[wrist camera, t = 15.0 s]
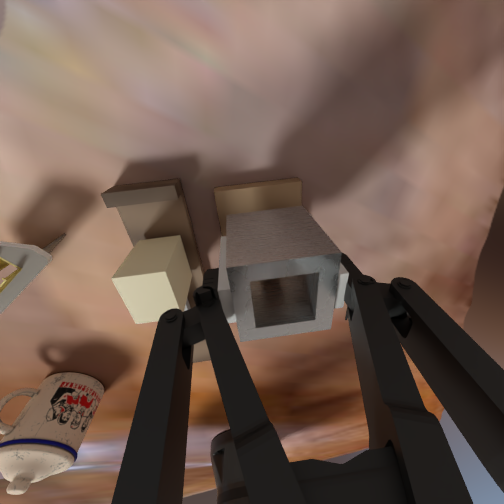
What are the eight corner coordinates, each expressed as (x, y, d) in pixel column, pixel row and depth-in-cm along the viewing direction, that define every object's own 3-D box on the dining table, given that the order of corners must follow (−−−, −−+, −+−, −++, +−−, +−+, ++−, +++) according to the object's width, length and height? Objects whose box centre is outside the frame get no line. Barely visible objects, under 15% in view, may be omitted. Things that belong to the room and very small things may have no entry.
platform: (-69, 262, 23) (-165, 310, 17) (17, 138, 18) (-77, 147, 12) (52, 320, 28) (9, 370, 23) (142, 236, 23) (116, 273, 18)
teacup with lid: (119, 388, 36) (79, 489, 26) (80, 406, 38) (29, 508, 28) (49, 352, 31) (-36, 465, 21) (7, 376, 32) (-90, 491, 22)
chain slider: (206, 324, 28) (202, 370, 23) (175, 329, 28) (164, 375, 23) (180, 235, 22) (165, 271, 17) (138, 240, 22) (111, 278, 16)
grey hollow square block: (300, 267, 21) (330, 329, 15) (236, 275, 20) (240, 341, 14) (302, 205, 17) (341, 252, 11) (226, 215, 17) (225, 267, 11)
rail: (224, 352, 34) (224, 367, 32) (185, 357, 34) (183, 373, 32) (179, 178, 20) (174, 185, 18) (113, 186, 20) (100, 194, 18)
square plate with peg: (296, 248, 25) (323, 300, 18) (227, 257, 25) (227, 313, 18) (297, 177, 21) (333, 208, 14) (214, 187, 21) (207, 224, 14)
